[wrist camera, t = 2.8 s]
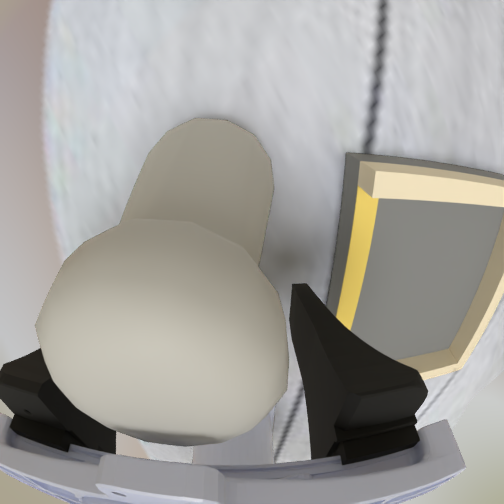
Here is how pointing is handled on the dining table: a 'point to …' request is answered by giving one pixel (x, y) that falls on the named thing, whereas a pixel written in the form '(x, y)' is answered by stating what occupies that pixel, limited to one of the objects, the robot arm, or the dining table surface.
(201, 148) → the salt shaker
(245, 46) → the dining table surface
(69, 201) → the dining table surface
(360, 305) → the tray
